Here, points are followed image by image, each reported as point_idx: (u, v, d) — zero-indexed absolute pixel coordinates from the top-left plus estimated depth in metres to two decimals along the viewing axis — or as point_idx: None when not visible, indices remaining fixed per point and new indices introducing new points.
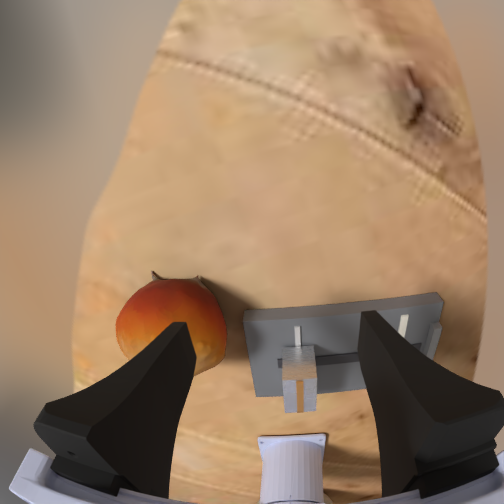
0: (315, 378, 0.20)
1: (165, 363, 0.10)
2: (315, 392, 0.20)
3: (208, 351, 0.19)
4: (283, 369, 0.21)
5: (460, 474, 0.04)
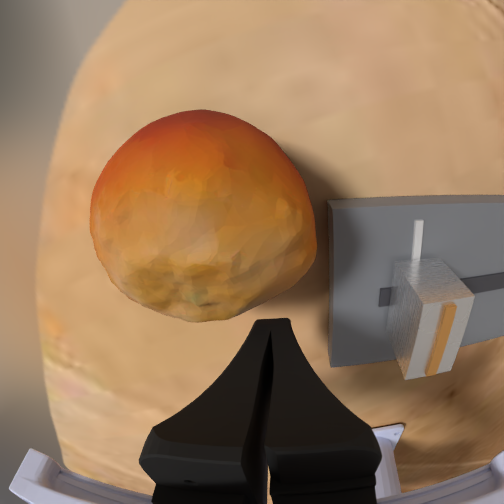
0: (472, 297, 0.09)
1: (265, 364, 0.10)
2: (463, 329, 0.10)
3: (297, 225, 0.08)
4: (415, 288, 0.10)
5: None
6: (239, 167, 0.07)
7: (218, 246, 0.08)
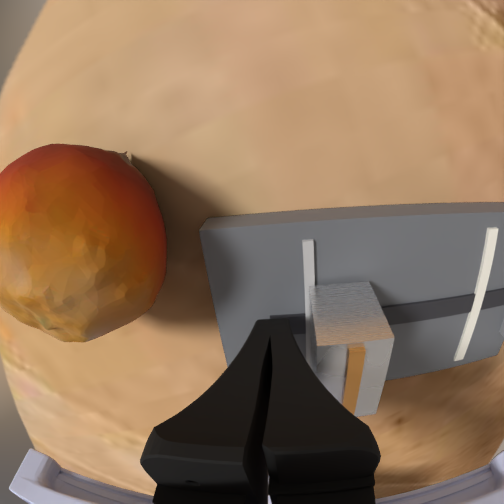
0: (390, 339, 0.08)
1: (266, 363, 0.10)
2: (384, 374, 0.09)
3: (99, 261, 0.07)
4: (316, 324, 0.10)
5: None
6: (38, 209, 0.07)
7: (32, 282, 0.07)
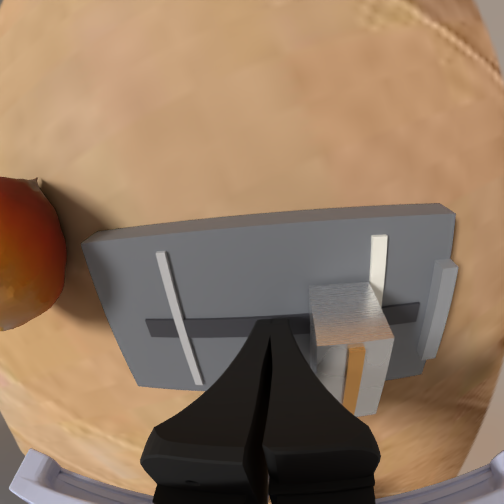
0: (390, 339, 0.08)
1: (266, 364, 0.10)
2: (384, 374, 0.09)
3: None
4: (316, 324, 0.10)
5: None
6: None
7: None
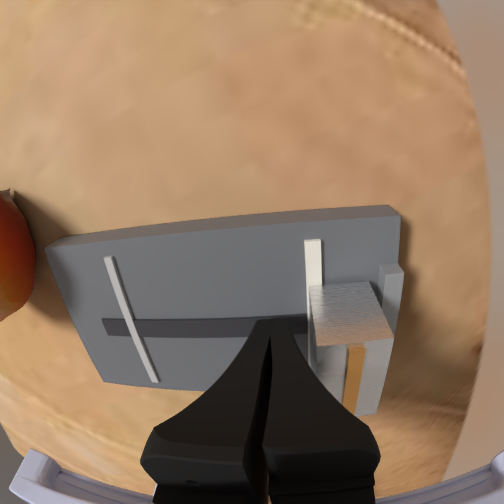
0: (390, 339, 0.08)
1: (266, 363, 0.10)
2: (384, 373, 0.09)
3: None
4: (316, 324, 0.10)
5: None
6: None
7: None
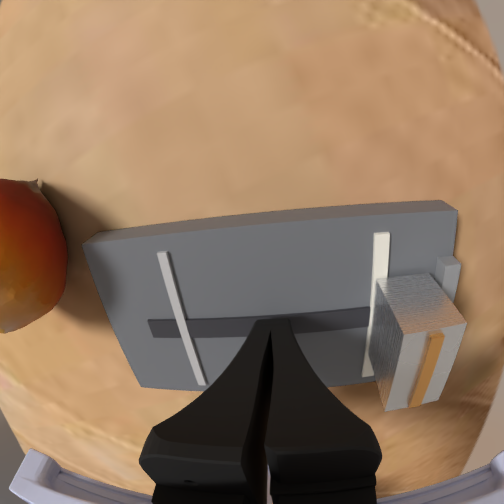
0: (463, 324, 0.08)
1: (265, 363, 0.10)
2: (453, 359, 0.08)
3: None
4: (396, 314, 0.09)
5: None
6: None
7: None
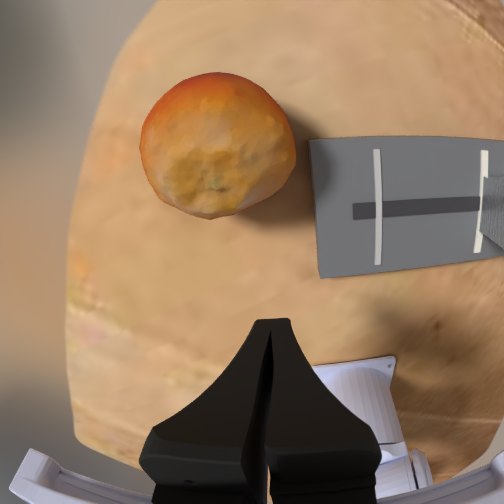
0: None
1: (265, 363, 0.10)
2: None
3: (280, 131, 0.13)
4: None
5: None
6: (243, 96, 0.12)
7: (232, 140, 0.12)
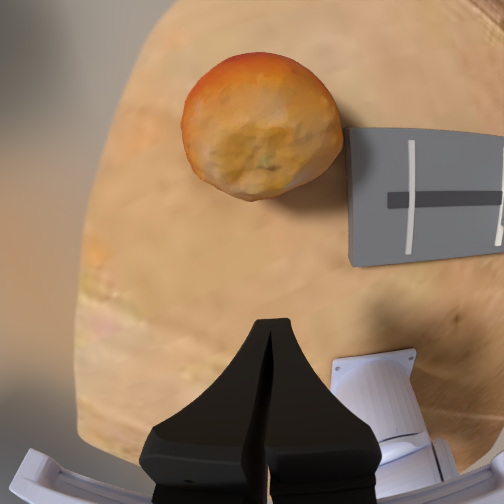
0: None
1: (266, 364, 0.10)
2: None
3: (333, 113, 0.12)
4: None
5: None
6: (299, 75, 0.11)
7: (288, 117, 0.12)
